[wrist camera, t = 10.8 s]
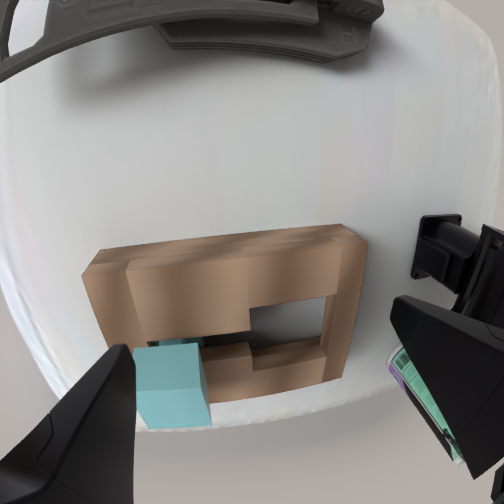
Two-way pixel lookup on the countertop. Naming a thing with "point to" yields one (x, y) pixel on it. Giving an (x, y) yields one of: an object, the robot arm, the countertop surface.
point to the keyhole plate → (234, 301)
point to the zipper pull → (202, 26)
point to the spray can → (423, 400)
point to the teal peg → (172, 384)
